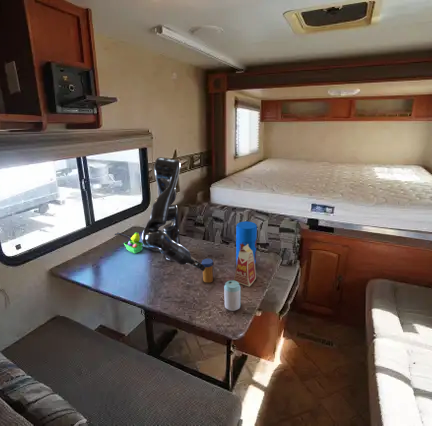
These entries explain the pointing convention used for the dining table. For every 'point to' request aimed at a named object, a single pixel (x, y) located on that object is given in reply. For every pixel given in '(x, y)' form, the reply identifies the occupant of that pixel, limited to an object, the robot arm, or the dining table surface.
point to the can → (232, 295)
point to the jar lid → (207, 262)
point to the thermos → (246, 237)
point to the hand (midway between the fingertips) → (198, 266)
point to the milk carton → (245, 267)
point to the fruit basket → (134, 244)
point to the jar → (208, 274)
